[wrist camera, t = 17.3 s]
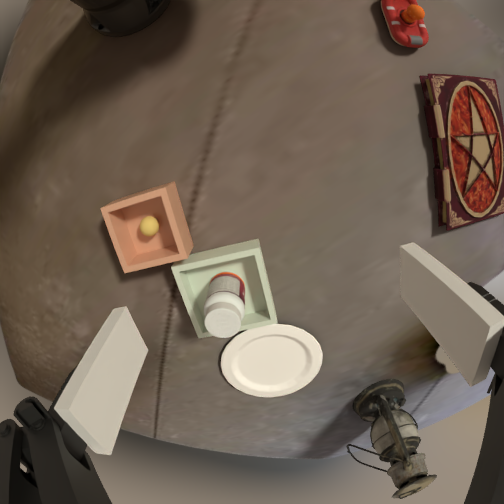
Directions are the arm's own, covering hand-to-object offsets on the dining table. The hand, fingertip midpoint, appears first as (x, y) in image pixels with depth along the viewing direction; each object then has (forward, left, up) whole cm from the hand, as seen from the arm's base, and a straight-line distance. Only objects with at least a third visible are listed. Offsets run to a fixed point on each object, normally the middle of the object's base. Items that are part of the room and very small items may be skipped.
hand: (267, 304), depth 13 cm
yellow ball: (+2, -17, -34) cm, 38 cm away
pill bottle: (+16, -8, -34) cm, 39 cm away
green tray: (+16, -8, -35) cm, 39 cm away
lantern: (+59, +18, -35) cm, 71 cm away
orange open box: (+2, -17, -35) cm, 39 cm away
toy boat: (-25, +32, -35) cm, 54 cm away
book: (0, +43, -36) cm, 56 cm away
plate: (+35, -4, -35) cm, 50 cm away
